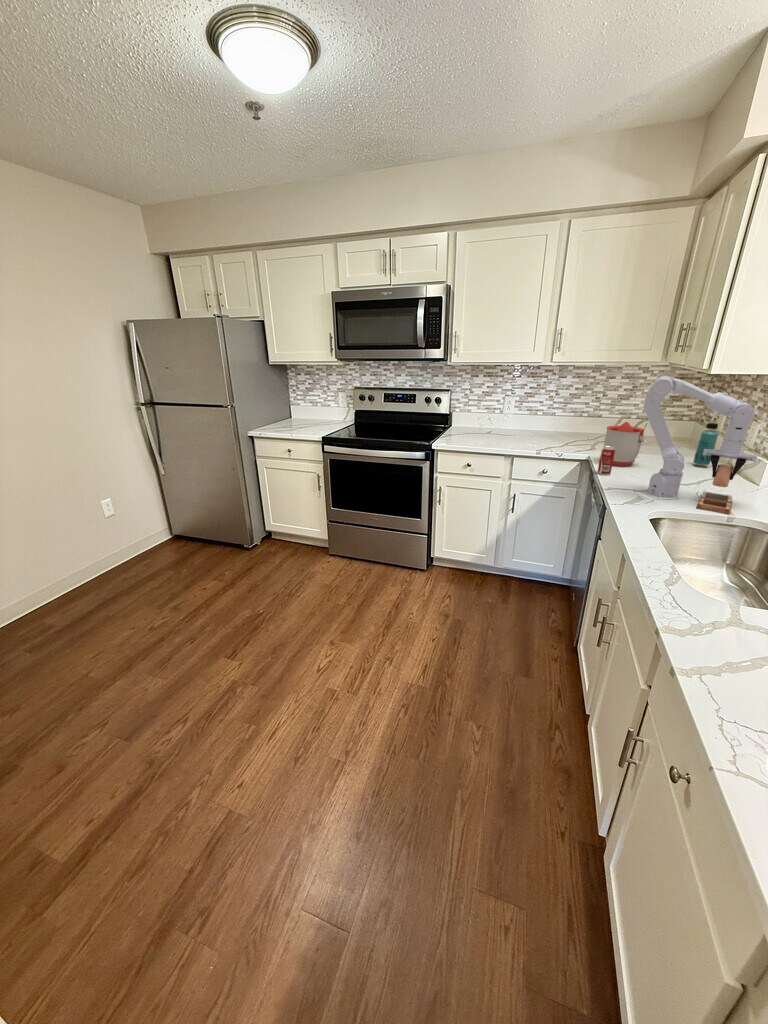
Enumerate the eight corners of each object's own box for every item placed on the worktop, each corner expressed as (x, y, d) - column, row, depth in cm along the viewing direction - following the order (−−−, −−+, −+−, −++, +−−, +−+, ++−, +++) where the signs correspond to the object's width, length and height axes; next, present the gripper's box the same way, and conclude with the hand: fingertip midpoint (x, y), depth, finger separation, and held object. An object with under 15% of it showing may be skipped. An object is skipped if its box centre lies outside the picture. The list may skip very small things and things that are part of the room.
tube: (719, 487, 147) (725, 467, 144) (709, 483, 151) (714, 464, 148) (730, 486, 147) (737, 467, 145) (719, 482, 151) (725, 464, 149)
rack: (729, 517, 139) (731, 510, 138) (694, 510, 145) (696, 504, 144) (731, 502, 152) (733, 495, 151) (700, 496, 158) (702, 490, 157)
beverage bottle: (693, 463, 201) (705, 421, 194) (710, 466, 197) (723, 423, 189) (690, 466, 197) (702, 423, 190) (707, 469, 192) (720, 425, 185)
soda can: (599, 471, 190) (604, 445, 185) (611, 473, 187) (617, 446, 182) (595, 474, 186) (600, 447, 181) (608, 476, 183) (614, 449, 178)
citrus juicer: (635, 470, 191) (645, 426, 183) (595, 464, 202) (603, 422, 194) (644, 463, 201) (654, 421, 194) (605, 457, 212) (613, 417, 205)
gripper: (706, 438, 145) (696, 476, 150) (761, 444, 136) (748, 484, 141) (708, 435, 150) (698, 472, 155) (761, 441, 141) (748, 479, 146)
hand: (722, 478), depth 148 cm, fingers closed on tube, 4 cm apart
